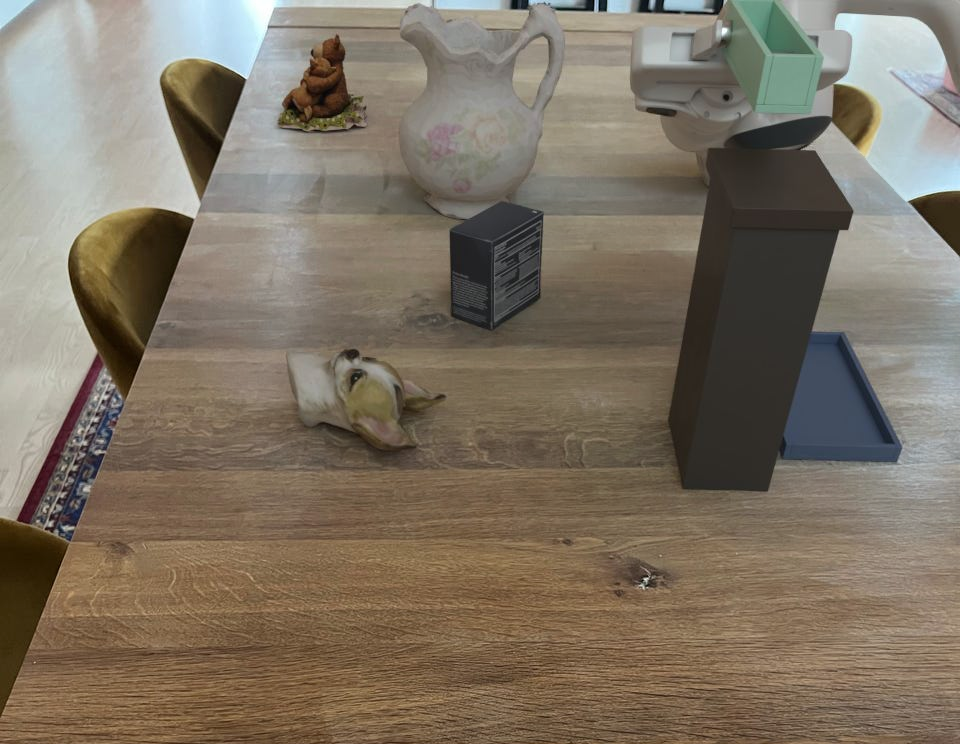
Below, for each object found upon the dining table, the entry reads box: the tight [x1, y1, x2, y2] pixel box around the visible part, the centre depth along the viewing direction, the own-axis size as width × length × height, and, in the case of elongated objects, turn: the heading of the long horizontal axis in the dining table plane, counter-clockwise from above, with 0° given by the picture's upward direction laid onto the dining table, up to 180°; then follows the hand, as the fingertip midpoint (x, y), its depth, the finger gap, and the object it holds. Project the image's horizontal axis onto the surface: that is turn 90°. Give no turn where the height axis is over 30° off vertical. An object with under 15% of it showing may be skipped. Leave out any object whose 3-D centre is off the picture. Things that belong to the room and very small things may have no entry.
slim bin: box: [721, 0, 824, 114], centre depth 81 cm, size 4×18×4 cm, turn 178°
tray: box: [779, 330, 903, 463], centre depth 103 cm, size 11×23×2 cm, turn 179°
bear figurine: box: [277, 33, 368, 133], centre depth 160 cm, size 14×15×12 cm
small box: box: [448, 201, 545, 331], centre depth 113 cm, size 11×6×10 cm, turn 144°
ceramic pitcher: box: [398, 1, 566, 220], centre depth 131 cm, size 22×20×25 cm
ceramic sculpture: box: [285, 348, 448, 452], centre depth 95 cm, size 11×9×15 cm
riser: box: [667, 148, 854, 492], centre depth 86 cm, size 9×13×26 cm
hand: (757, 30), depth 84 cm, fingers closed on slim bin, 4 cm apart
